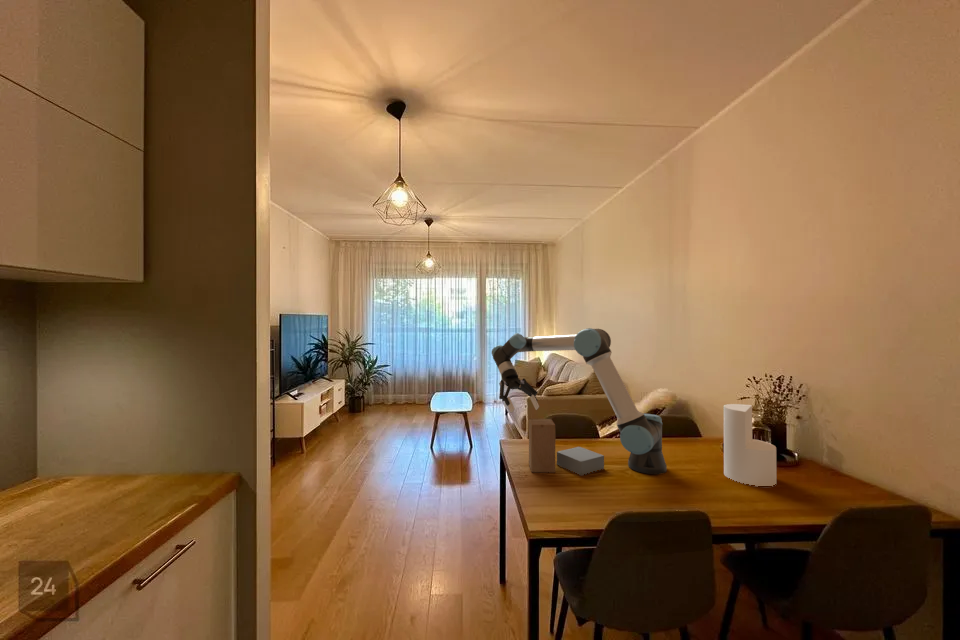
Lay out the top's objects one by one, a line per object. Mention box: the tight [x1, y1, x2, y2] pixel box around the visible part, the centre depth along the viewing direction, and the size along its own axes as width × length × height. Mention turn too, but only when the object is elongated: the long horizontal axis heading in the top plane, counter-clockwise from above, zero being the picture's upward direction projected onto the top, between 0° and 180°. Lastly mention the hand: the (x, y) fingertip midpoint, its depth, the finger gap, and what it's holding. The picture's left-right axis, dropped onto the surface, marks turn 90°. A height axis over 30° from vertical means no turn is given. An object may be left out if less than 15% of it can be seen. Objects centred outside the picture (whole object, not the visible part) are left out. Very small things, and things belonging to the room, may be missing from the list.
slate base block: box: [556, 446, 605, 476], centre depth 163 cm, size 14×14×6 cm
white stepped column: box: [723, 403, 777, 487], centre depth 152 cm, size 17×17×28 cm
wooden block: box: [528, 418, 556, 474], centre depth 161 cm, size 10×10×20 cm
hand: (525, 409), depth 171 cm, fingers open, 13 cm apart
